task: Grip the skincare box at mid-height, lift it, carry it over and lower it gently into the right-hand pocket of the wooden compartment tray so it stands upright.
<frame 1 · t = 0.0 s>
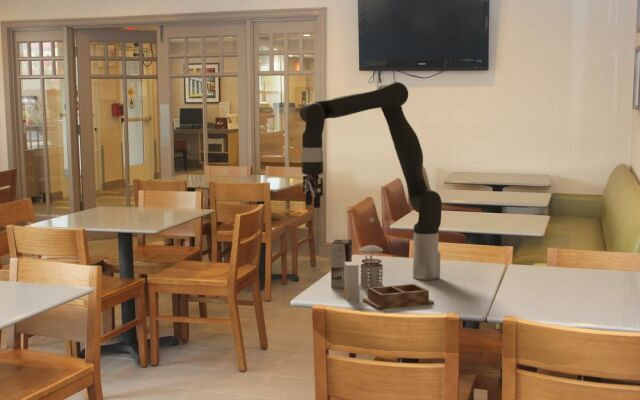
hand: (312, 206, 269), 29 cm above the table, tool pointing down, fingers open, 8 cm apart
french press: (370, 288, 271), on the table
wooden compartment tray: (398, 302, 251), on the table
coffee box: (341, 285, 276), on the table
skincare box: (351, 298, 257), on the table
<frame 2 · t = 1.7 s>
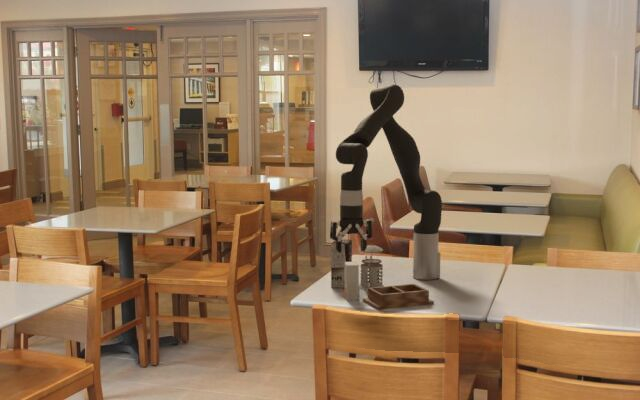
hand: (351, 251, 255), 16 cm above the table, tool pointing down, fingers open, 8 cm apart
nothing on the table moved.
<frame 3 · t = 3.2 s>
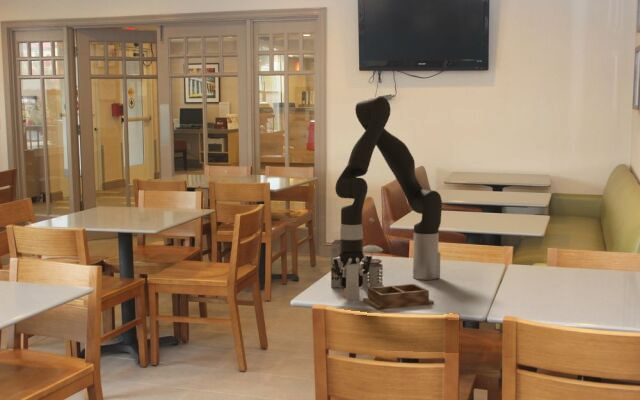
hand: (351, 286, 257), 4 cm above the table, tool pointing down, fingers closed on skincare box, 5 cm apart
skincare box: (351, 298, 257), on the table, touching gripper
everything else where it was.
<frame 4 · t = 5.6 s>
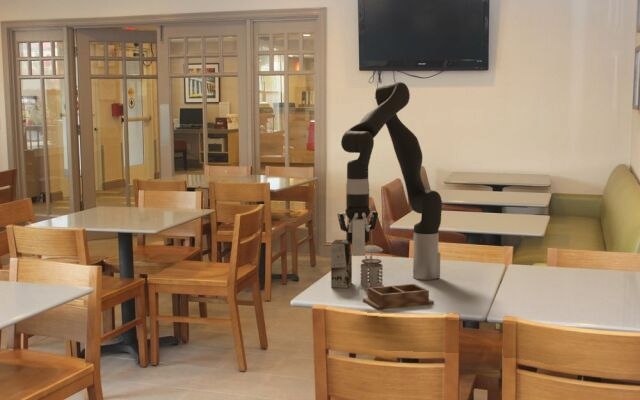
hand: (357, 242, 254), 19 cm above the table, tool pointing down, fingers closed on skincare box, 5 cm apart
skincare box: (357, 254, 254), point 15 cm above the table, touching gripper
everything else where it was.
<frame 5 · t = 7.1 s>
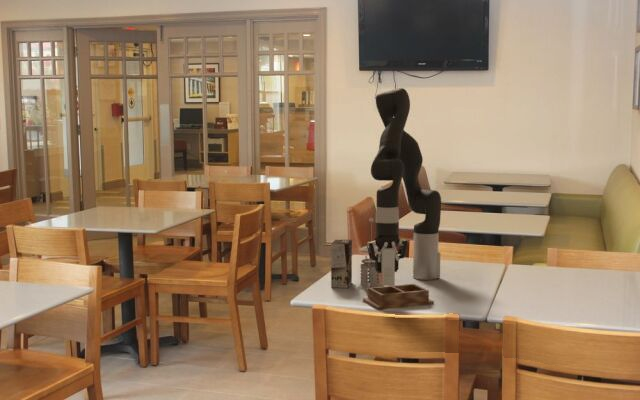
hand: (386, 271, 248), 11 cm above the table, tool pointing down, fingers closed on skincare box, 5 cm apart
skincare box: (386, 284, 249), point 6 cm above the table, touching gripper
everything else where it was.
when the fingers open (7 cm above the table, at t = 8.3 s): skincare box drops 2 cm, resting on wooden compartment tray.
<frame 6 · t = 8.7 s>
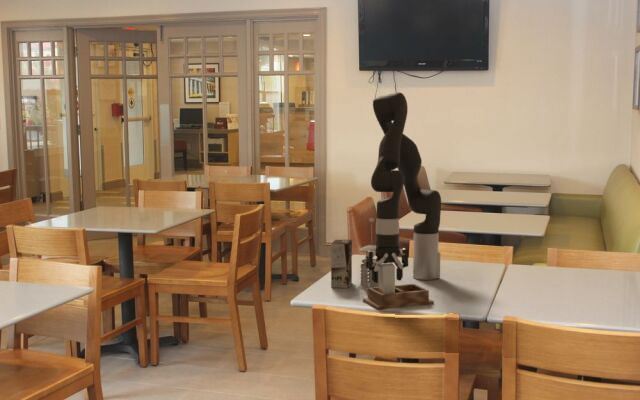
hand: (387, 281, 249), 8 cm above the table, tool pointing down, fingers open, 8 cm apart
skincare box: (386, 300, 249), point 1 cm above the table, touching wooden compartment tray
everything else where it was.
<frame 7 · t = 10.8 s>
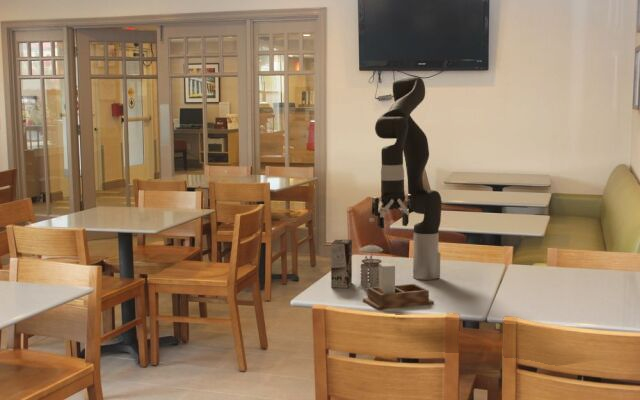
hand: (393, 226, 252), 25 cm above the table, tool pointing down, fingers open, 8 cm apart
nothing on the table moved.
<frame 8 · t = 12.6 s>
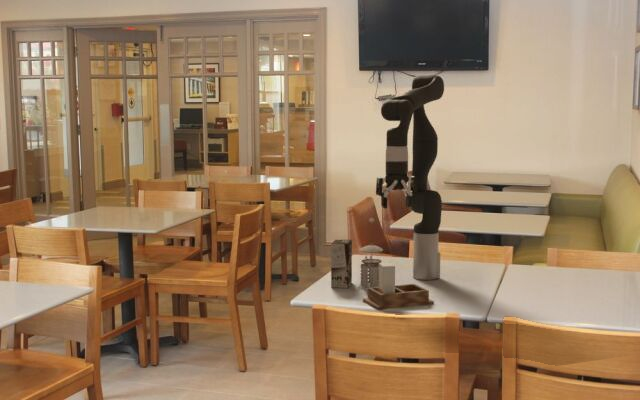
hand: (396, 207, 258), 30 cm above the table, tool pointing down, fingers open, 8 cm apart
nothing on the table moved.
at the end: skincare box 0.1 cm from the target spot on the wooden compartment tray, point 1.0 cm above the wooden compartment tray's base; skincare box tilted 0°; the gripper is holding nothing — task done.
